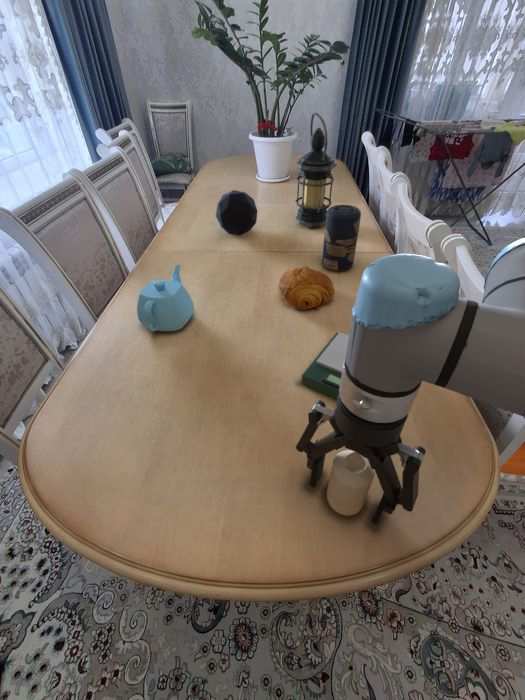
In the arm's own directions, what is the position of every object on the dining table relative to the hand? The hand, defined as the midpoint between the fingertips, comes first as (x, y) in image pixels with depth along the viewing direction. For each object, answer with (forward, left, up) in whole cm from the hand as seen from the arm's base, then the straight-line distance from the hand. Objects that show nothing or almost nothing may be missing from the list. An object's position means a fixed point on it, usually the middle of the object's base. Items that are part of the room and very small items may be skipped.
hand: (345, 496), depth 52 cm
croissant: (+32, -46, 0) cm, 56 cm away
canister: (+32, -66, 0) cm, 73 cm away
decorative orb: (+73, -70, 0) cm, 101 cm away
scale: (+10, -25, 0) cm, 27 cm away
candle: (0, 0, 0) cm, 0 cm away
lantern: (+54, -91, 0) cm, 106 cm away
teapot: (+56, -19, 0) cm, 59 cm away
